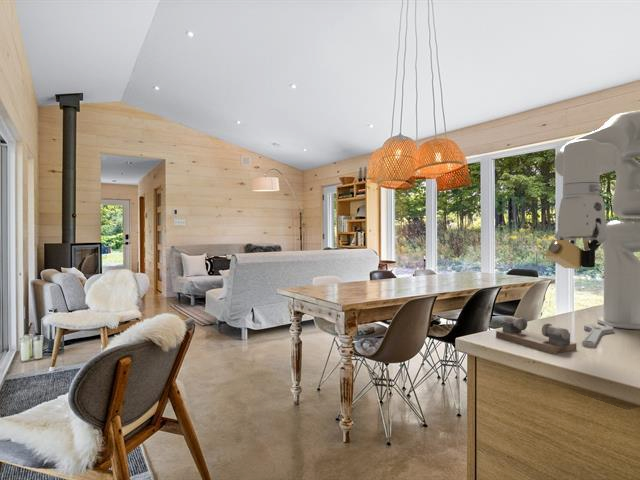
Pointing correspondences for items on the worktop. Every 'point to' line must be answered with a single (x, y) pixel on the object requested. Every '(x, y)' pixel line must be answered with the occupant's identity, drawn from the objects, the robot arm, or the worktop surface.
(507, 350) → the worktop surface
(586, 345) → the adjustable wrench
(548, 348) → the shaft stand
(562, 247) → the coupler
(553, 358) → the worktop surface
